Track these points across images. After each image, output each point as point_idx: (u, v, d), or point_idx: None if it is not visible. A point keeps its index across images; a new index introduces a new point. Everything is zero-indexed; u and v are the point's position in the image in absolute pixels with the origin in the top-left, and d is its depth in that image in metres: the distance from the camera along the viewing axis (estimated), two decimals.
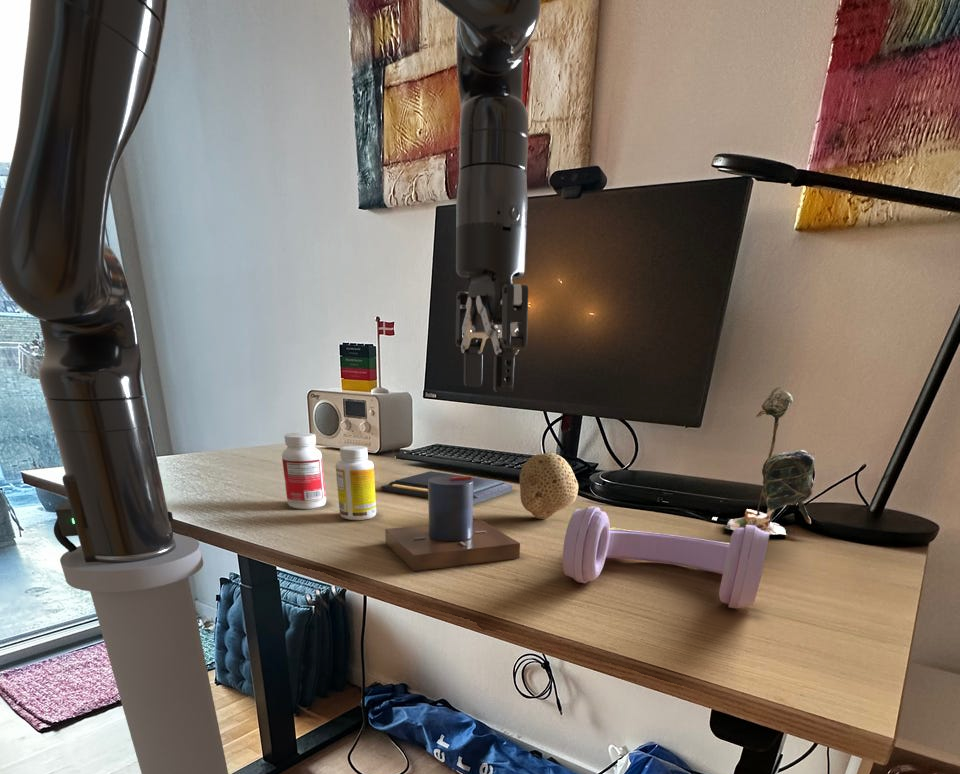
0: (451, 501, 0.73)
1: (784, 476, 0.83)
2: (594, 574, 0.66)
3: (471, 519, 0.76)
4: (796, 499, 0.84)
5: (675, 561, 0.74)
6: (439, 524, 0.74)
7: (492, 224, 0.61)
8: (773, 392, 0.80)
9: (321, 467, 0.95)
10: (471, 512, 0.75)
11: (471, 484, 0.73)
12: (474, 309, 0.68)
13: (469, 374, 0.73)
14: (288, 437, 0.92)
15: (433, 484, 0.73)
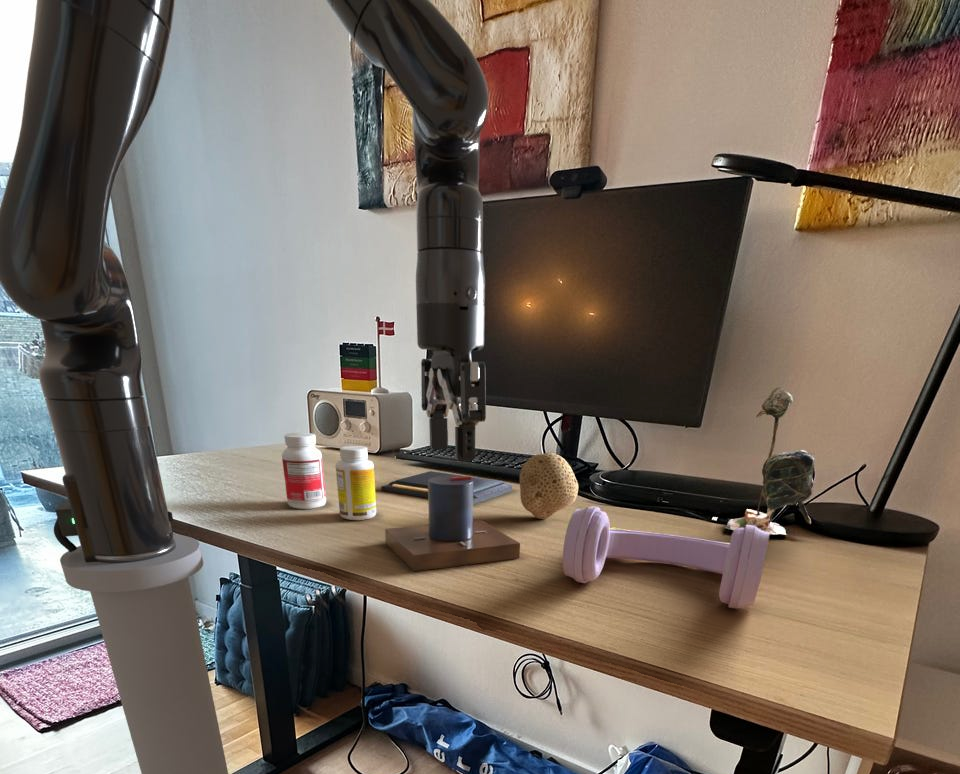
0: (451, 501, 0.73)
1: (784, 476, 0.83)
2: (594, 574, 0.66)
3: (471, 519, 0.76)
4: (796, 499, 0.84)
5: (675, 561, 0.74)
6: (439, 524, 0.74)
7: (449, 304, 0.63)
8: (773, 392, 0.80)
9: (321, 467, 0.95)
10: (471, 512, 0.75)
11: (471, 484, 0.73)
12: (436, 379, 0.70)
13: (434, 437, 0.75)
14: (288, 437, 0.92)
15: (433, 484, 0.73)
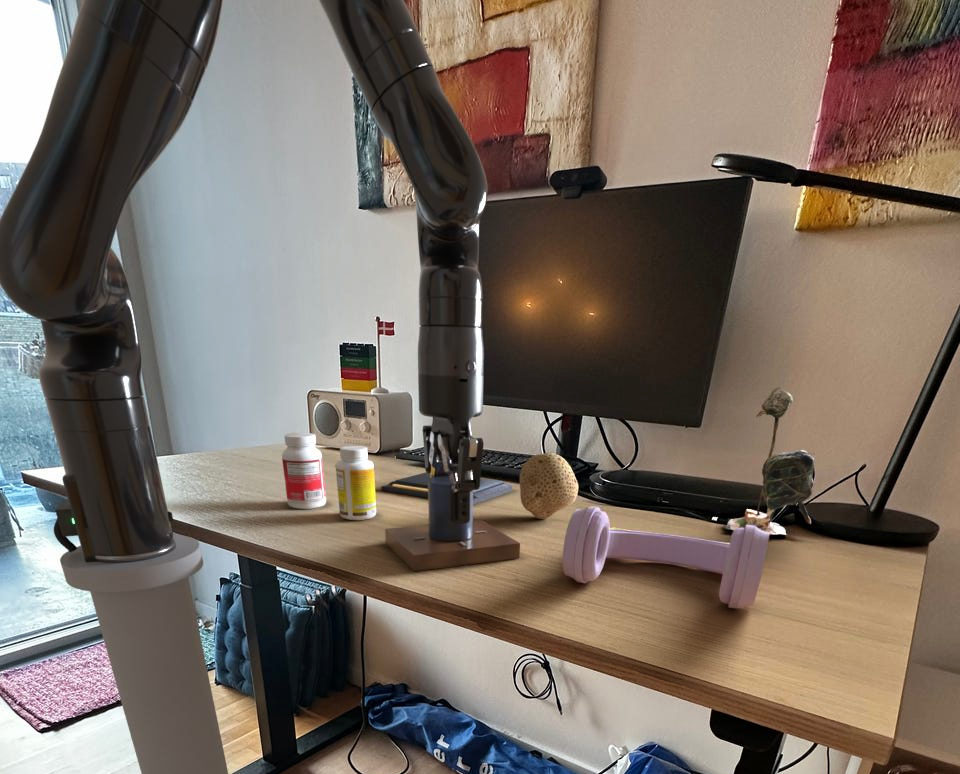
0: None
1: (784, 476, 0.83)
2: (594, 574, 0.66)
3: (471, 519, 0.76)
4: (796, 499, 0.84)
5: (675, 561, 0.74)
6: (439, 524, 0.74)
7: (449, 377, 0.66)
8: (773, 392, 0.80)
9: (321, 467, 0.95)
10: (471, 512, 0.75)
11: None
12: (437, 442, 0.73)
13: None
14: (288, 437, 0.92)
15: (433, 484, 0.73)
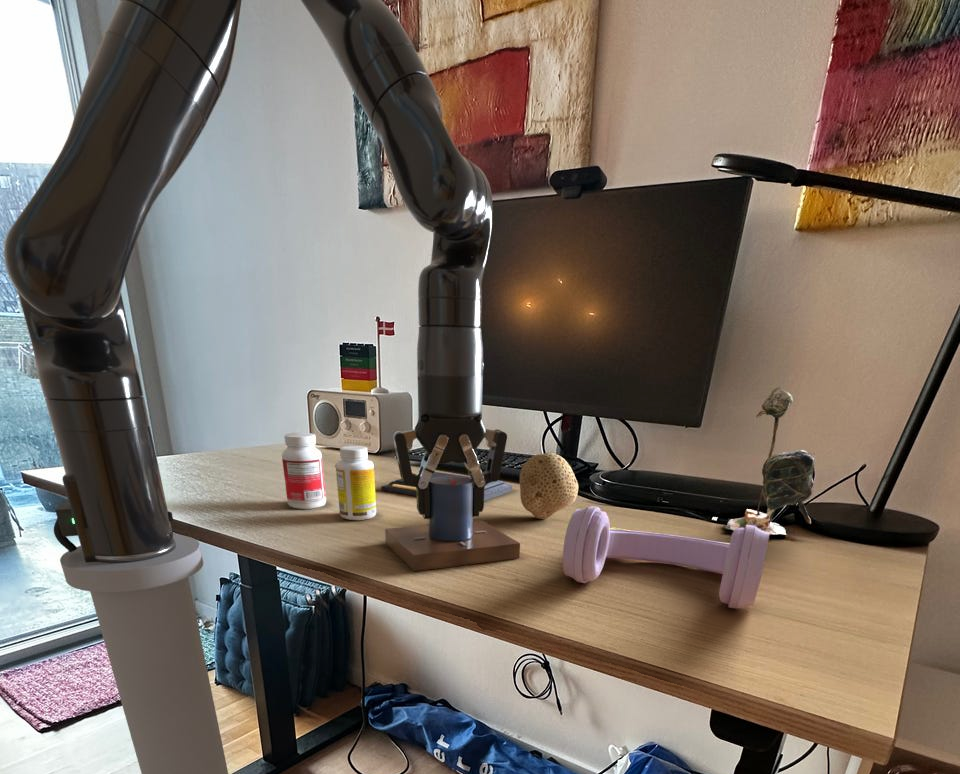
0: None
1: (784, 476, 0.83)
2: (594, 574, 0.66)
3: (438, 522, 0.74)
4: (796, 499, 0.84)
5: (675, 561, 0.74)
6: None
7: None
8: (773, 392, 0.80)
9: (321, 467, 0.95)
10: (438, 514, 0.74)
11: (436, 485, 0.72)
12: None
13: None
14: (288, 437, 0.92)
15: None
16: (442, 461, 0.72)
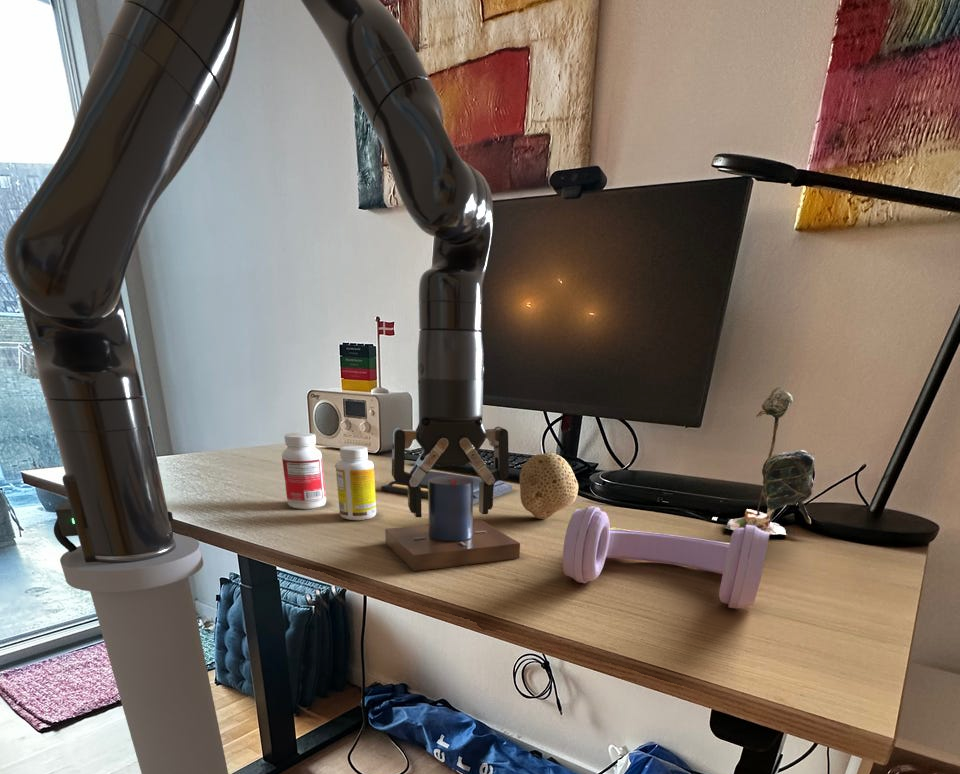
0: None
1: (784, 476, 0.83)
2: (594, 574, 0.66)
3: (438, 522, 0.74)
4: (796, 499, 0.84)
5: (675, 561, 0.74)
6: None
7: None
8: (773, 392, 0.80)
9: (321, 467, 0.95)
10: (438, 514, 0.74)
11: (436, 485, 0.72)
12: None
13: (479, 500, 0.77)
14: (288, 437, 0.92)
15: None
16: (443, 464, 0.72)
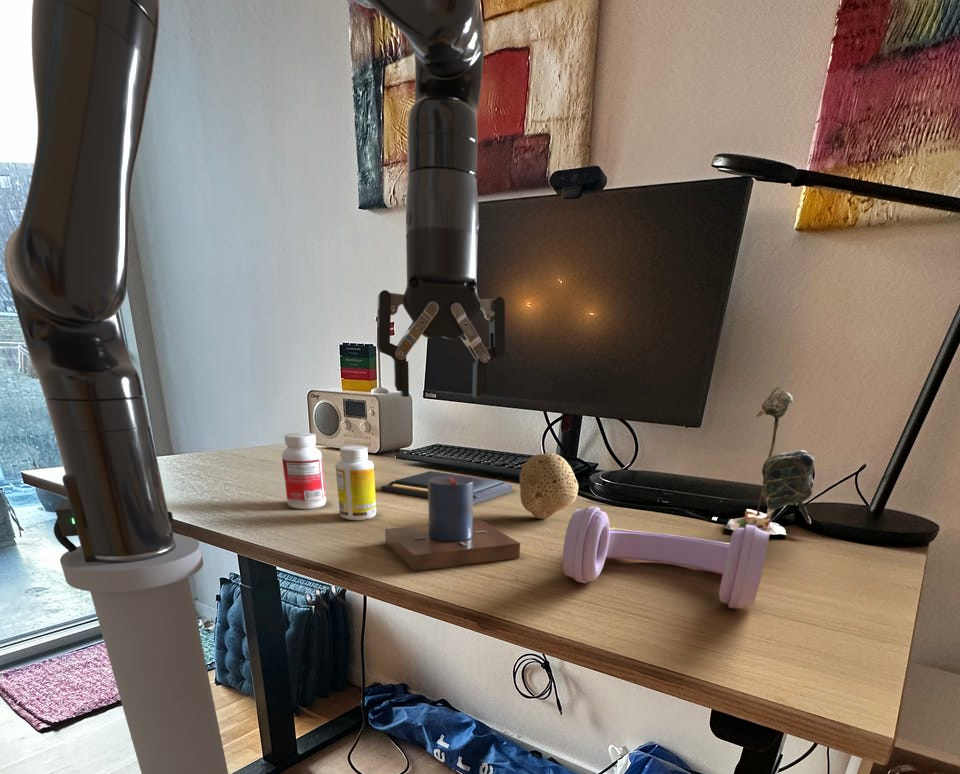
0: None
1: (784, 476, 0.83)
2: (594, 574, 0.66)
3: (438, 522, 0.74)
4: (796, 499, 0.84)
5: (675, 561, 0.74)
6: None
7: None
8: (773, 392, 0.80)
9: (321, 467, 0.95)
10: (438, 514, 0.74)
11: (436, 485, 0.72)
12: None
13: (473, 383, 0.71)
14: (288, 437, 0.92)
15: None
16: (432, 335, 0.66)
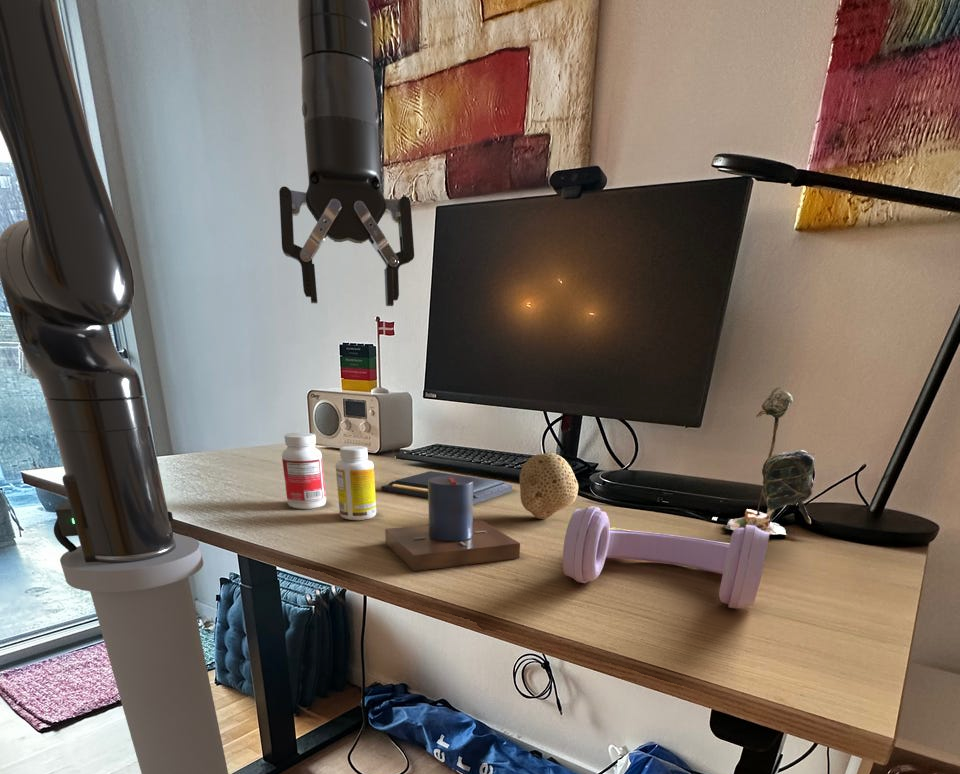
0: None
1: (784, 476, 0.83)
2: (594, 574, 0.66)
3: (438, 522, 0.74)
4: (796, 499, 0.84)
5: (675, 561, 0.74)
6: None
7: None
8: (773, 392, 0.80)
9: (321, 467, 0.95)
10: (438, 514, 0.74)
11: (436, 485, 0.72)
12: None
13: (385, 291, 0.70)
14: (288, 437, 0.92)
15: None
16: (338, 237, 0.65)
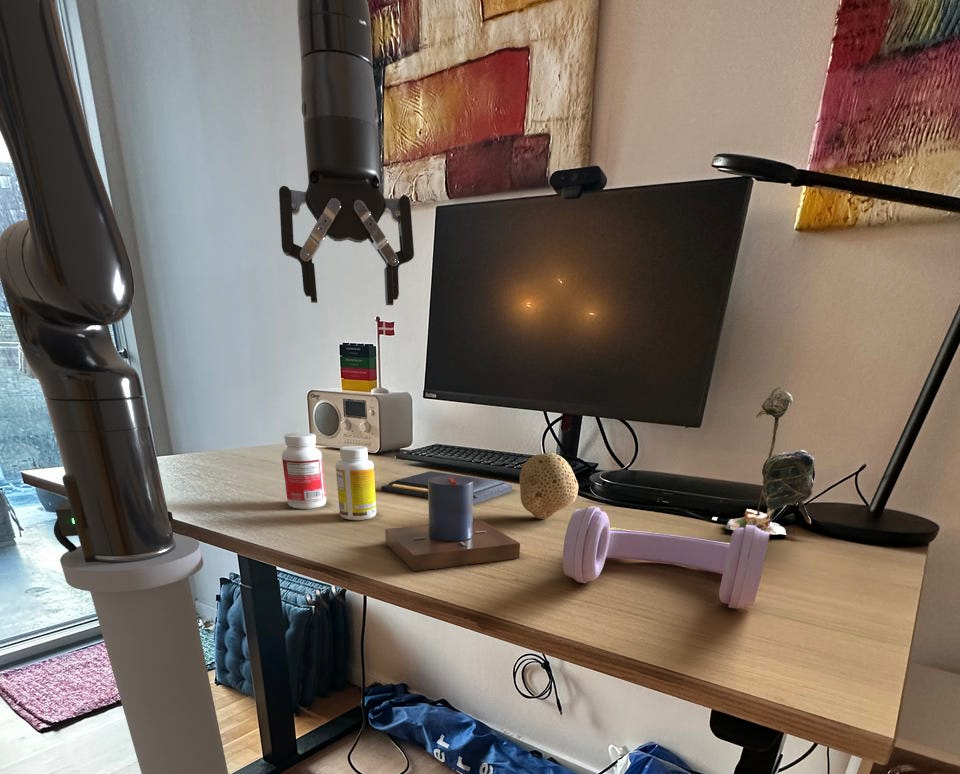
0: None
1: (784, 476, 0.83)
2: (594, 574, 0.66)
3: (438, 522, 0.74)
4: (796, 499, 0.84)
5: (675, 561, 0.74)
6: None
7: None
8: (773, 392, 0.80)
9: (321, 467, 0.95)
10: (438, 514, 0.74)
11: (436, 485, 0.72)
12: None
13: (385, 290, 0.70)
14: (288, 437, 0.92)
15: None
16: (338, 236, 0.65)
